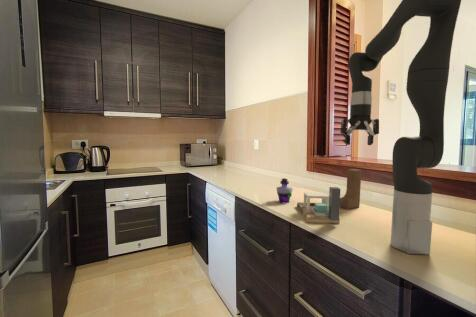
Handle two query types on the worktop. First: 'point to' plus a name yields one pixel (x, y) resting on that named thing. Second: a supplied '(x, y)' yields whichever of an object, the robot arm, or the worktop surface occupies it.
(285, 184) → the potion bottle
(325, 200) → the cream open box
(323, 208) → the block
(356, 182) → the wooden block
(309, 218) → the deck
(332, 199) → the grey angular piece
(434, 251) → the worktop surface
